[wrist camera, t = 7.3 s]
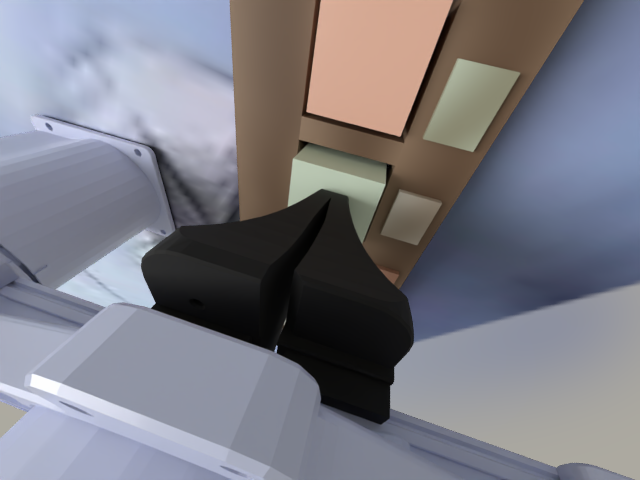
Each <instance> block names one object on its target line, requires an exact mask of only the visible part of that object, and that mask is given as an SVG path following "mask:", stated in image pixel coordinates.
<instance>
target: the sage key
mask: <svg viewBox="0 0 640 480" xmlns="http://www.w3.org/2000/svg"><path fill="white" fill-rule="evenodd" d="M386 168H387V163H383V162H380V161H376V160H372V159H369V158H365V157H361V156H358V155H354V154H350V153H347V152H343V151H339V150H336V149H332V148H328V147H325V146H321V145H317V144H314V143H310V142H309V143H308V144H307V145H306V146H305V147H304V148H303V149H302V150H301V151H300V152H299V153H298V154H297V155H296V156H295V157H294V158H293V163H292V172H291V181H290V190H289V200H288V207H289V206H291V205H293V204H295V203H297V202H299V201H301V200H303V199H305V198H306V197H308V196H310V195H312V194H313V193H315V192H316V191H318V190H320V189H325V190H328V191H331V192H335V193H338V194H342V195H346V196H348V198H349V208H350V213H351V217H352V221H353V224H354V227H355V229H356V232H357V234H358V237H359V239H360V241H361V243H363V240H364V238H365V235H366V233H367V230H368V228H369V225H370V223H371V220H372V217H373V215H374V212H375V210H376V207H377V205H378V202H379V200H380V197H381V195H382V192H383V190H384V187H385V185H386Z"/></svg>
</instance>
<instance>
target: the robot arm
mask: <svg viewBox="0 0 640 480" xmlns="http://www.w3.org/2000/svg"><path fill="white" fill-rule="evenodd" d="M30 119H31V122H32V124H33V125H34V127H35V129H36V130H35V131H30V132H25V133H19V134H14V135H9V136H4V137H0V401H1V402H4V403H6V404H8V405H11V406H13V407H16V408H18V409H20V410H23V411H25V412H27V413H26V414H25V415H24V416H23V417H22V418H21V419H20V420H19V421H18V422H17V423H16V424H15V425H14V426H13V427H12V428H11V429H10V430H8V431H7V432H6V433H5V434H4V435H3V437H1V438H0V480H634V479H632V478H629V477H626V476H623V475H620V474H617V473H614V472H611V471H609V470H606V469H603V468H600V467H597V466H594V465H589V464H583V463H569V464H564V465H560V466H558V467H557V468H556V467H553V466H550V465H547V464H544V463H541V462H539V461H536V460H533V459H530V458H527V457H525V456H522V455H519V454H516V453H514V452H511V451H508V450H505V449H502V448H499V447H497V446H494V445H491V444H488V443H485V442H483V441H480V440H477V439H474V438H471V437H469V436H466V435H463V434H460V433H457V432H454V431H452V430H449V429H446V428H443V427H440V426H437V425H435V424H432V423H429V422H426V421H423V420H421V419H418V418H415V417H412V416H409V415H407V414H404V413H401V412H398V411H395V410H393V409H390V385H392V384H393V382H394V367H395V366H396V365H397V363H398V362H399V361H400V360H401V359H402V358H403V357H404V356H405V355H406V354H407V353H408V352H409V351H410V349H411V347H412V345H413V342H414V330H413V321H412V316H411V312H410V307H409V303H408V298H407V297H406V296H405V295H404V294H403V293H402V292H401V291H400V290H399V289H398V288H397V287H396V286H395V285H394V284H393V283H392V282H391V281H390V280H389V279H388V278H387V277H386V276H385V275H384V274H383V273H382V272H381V270H380V269H379V268H378V267H377V266H376V264H375V263H374V262H373V260H372V259H371V258H370V256H369V255H368V253H367V252H366V250H365V248H364V247H363V245H362V243H361V241H360V239H359V237H358V234H357V232H356V229H355V227H354V224H353V221H352V217H351V213H350V208H349V198H348V196H346V195H342V194H338V193H335V192H331V191H328V190H325V189H320V190H318V191H316V192H315V193H313V194H312V195H310V196H308V197H306V198H305V199H303V200H301V201H299V202H297V203H295V204H293V205H291V206H289V207H287V208H285V209H282V210H280V211H277V212H274V213H271V214H268V215H265V216H261V217H256V218H252V219H248V220H243V221H238V222H231V223H223V224H214V225H197V226H181V227H180V228H178V229H177V230H175V226H174V222H173V219H172V215H171V211H170V208H169V204H168V200H167V197H166V193H165V189H164V186H163V182H162V178H161V175H160V171H159V167H158V164H157V160H156V157H155V154H154V152H153V150H152V149H151V148H150V147H148V146H145V145H142V144H138V143H135V142H131V141H128V140H124V139H121V138H118V137H114V136H111V135H107V134H104V133H100V132H97V131H93V130H90V129H86V128H83V127H80V126H76V125H73V124H69V123H66V122H62V121H59V120H55V119H52V118H48V117H45V116H41V115H31V116H30ZM143 230H147V231H150V232H154V233H157V234H160V235H163V236H166V238H165V239H164V240H163V241H161V242H160V243H159V244H157V245H156V246H155V247H154V248H152V249H151V250H150V251H148V252H147V253H146V254H145V255H144V257H143V258H142V263H141V269H142V272H143V276H144V278H145V281H146V283H147V285H148V287H149V289H150V291H151V294H152V296H153V298H154V300H155V302H156V304H155V305H154V306H153V307H152V308H151V309H150V308H147V307H144V306H139V305H133V304H128V303H113V304H111V305H109V306H108V307H103V306H100V305H97V304H94V303H92V302H89V301H86V300H83V299H80V298H78V297H75V296H72V295H69V294H66V293H63V292H61V291H58V290H55V289H57V288H58V287H60V286H61V285H63V284H64V283H66V282H67V281H69V280H70V279H72V278H73V277H74V276H76V275H77V274H79V273H80V272H82V271H83V270H85V269H86V268H88V267H89V266H91V265H92V264H94V263H95V262H97V261H98V260H100V259H101V258H103V257H104V256H106V255H107V254H109V253H110V252H111V251H113V250H114V249H116V248H117V247H119V246H120V245H122V244H123V243H125V242H126V241H128V240H129V239H131V238H132V237H134V236H135V235H137V234H138V233H140V232H141V231H143ZM285 320H286V322H285ZM284 323H285V324H284ZM283 326H284V327H283ZM282 328H283V329H282ZM281 331H282V332H281ZM276 345H277V346H278V349H277V353H275V352H274V350H275V347H276Z"/></svg>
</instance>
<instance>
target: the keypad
mask: <svg viewBox="0 0 640 480" xmlns="http://www.w3.org/2000/svg"><path fill="white" fill-rule="evenodd" d="M583 1H584V0H453V2H452V4H451V7H450V9H449V12H448V15H447V17H446V20H445V22H444V25H443V28H442V30H441V33H440V35H439V38H438V41H437V43H436V46H435V48H434V51H433V54H432V56H431V59H430V61H429V64H428V67H427V69H426V72H425V74H424V77H423V79H422V82H421V85H420V87H419V90H418V92H417V95H416V98H415V100H414V103H413V105H412V108H411V111H410V113H409V116H408V118H407V121H406V124H405V126H404V129H403V131H402V134H401V137H400V136H396V135H392V134H388V133H385V132H381V131H377V130H373V129H369V128H365V127H362V126H358V125H354V124H350V123H346V122H343V121H339V120H335V119H331V118H327V117H324V116H320V115H316V114H312V113H308V112H306V111H307V103H308V96H309V88H310V80H311V72H312V65H313V57H314V49H315V42H316V34H317V26H318V18H319V11H320V3H321V0H230V18H231V39H232V60H233V81H234V103H235V124H236V145H237V167H238V188H239V209H240V221H243V220H248V219H252V218H256V217H261V216H265V215H268V214H271V213H274V212H277V211H280V210H282V209H285V208H287V207H288V200H289V190H290V181H291V172H292V163H293V158H294V157H295V156H296V155H297V154H298V153H299V152H300V151H301V150H302V149H303V148H304V147H305V146H306V145H307V144H308V143H309V142H310V143H314V144H317V145H321V146H325V147H328V148H332V149H336V150H339V151H343V152H347V153H350V154H354V155H358V156H361V157H365V158H369V159H372V160H376V161H380V162H383V163H387V164H389V166H388V169H387V171H386V185H385V187H384V190H383V192H382V195H381V197H380V200H379V202H378V205H377V207H376V210H375V212H374V215H373V217H372V220H371V223H370V225H369V228H368V230H367V233H366V235H365V238H364V240H363V243H362V245H363V247H364V248H365V250H366V252H367V253H368V255H369V256H370V258H371V259H372V260H373V262H374V263H375V264H376V266H377V267H378V268H379V269H380V270H381V272H382V273H383V274H384V275H385V276H386V277H387V278H388V279H389V280H390V281H391V282H392V283H393V284H394V285H395V286H396V287H397V288H398V289H400V287H401V286H402V284H403V283H404V281H405V280H406V278H407V277H408V275H409V273H410V272H411V270H412V269H413V267H414V266H415V264H416V262H417V261H418V259H419V258H420V256H421V255H422V253H423V251H424V250H425V248H426V247H427V245H428V244H429V242H430V241H431V239H432V237H433V236H434V234H435V233H436V231H437V230H438V228H439V226H440V225H441V223H442V222H443V220H444V219H445V217H446V215H447V214H448V212H449V211H450V209H451V208H452V206H453V205H454V203H455V201H456V200H457V198H458V197H459V195H460V194H461V192H462V190H463V189H464V187H465V186H466V184H467V183H468V181H469V180H470V178H471V176H472V175H473V173H474V172H475V170H476V169H477V167H478V165H479V164H480V162H481V161H482V159H483V158H484V156H485V154H486V153H487V151H488V150H489V148H490V147H491V145H492V144H493V142H494V140H495V139H496V137H497V136H498V134H499V133H500V131H501V129H502V128H503V126H504V125H505V123H506V122H507V120H508V119H509V117H510V115H511V114H512V112H513V111H514V109H515V108H516V106H517V104H518V103H519V101H520V100H521V98H522V97H523V95H524V93H525V92H526V90H527V89H528V87H529V86H530V84H531V83H532V81H533V79H534V78H535V76H536V75H537V73H538V72H539V70H540V68H541V67H542V65H543V64H544V62H545V61H546V59H547V58H548V56H549V54H550V53H551V51H552V50H553V48H554V47H555V45H556V43H557V42H558V40H559V39H560V37H561V36H562V34H563V32H564V31H565V29H566V28H567V26H568V25H569V23H570V22H571V20H572V18H573V17H574V15H575V14H576V12H577V11H578V9H579V7H580V6H581V4H582V3H583ZM283 327H284V326H283Z"/></svg>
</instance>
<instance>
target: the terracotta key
mask: <svg viewBox="0 0 640 480" xmlns="http://www.w3.org/2000/svg"><path fill="white" fill-rule="evenodd" d="M452 2H453V0H321V3H320V11H319V18H318V26H317V34H316V42H315V49H314V57H313V65H312V72H311V80H310V88H309V96H308V103H307V111H306V112H308V113H312V114H316V115H320V116H324V117H327V118H331V119H335V120H339V121H343V122H346V123H350V124H354V125H358V126H362V127H365V128H369V129H373V130H377V131H381V132H385V133H388V134H392V135H396V136H400V137H401V134H402V131H403V129H404V126H405V124H406V121H407V118H408V116H409V113H410V111H411V108H412V105H413V103H414V100H415V98H416V95H417V92H418V90H419V87H420V85H421V82H422V79H423V77H424V74H425V72H426V69H427V67H428V64H429V61H430V59H431V56H432V54H433V51H434V48H435V46H436V43H437V41H438V38H439V35H440V33H441V30H442V28H443V25H444V22H445V20H446V17H447V15H448V12H449V9H450V7H451V4H452Z"/></svg>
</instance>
